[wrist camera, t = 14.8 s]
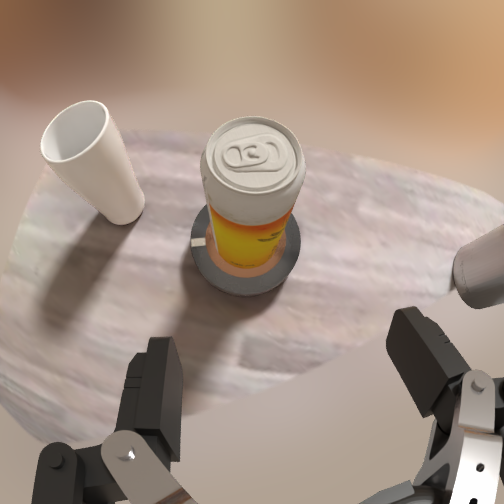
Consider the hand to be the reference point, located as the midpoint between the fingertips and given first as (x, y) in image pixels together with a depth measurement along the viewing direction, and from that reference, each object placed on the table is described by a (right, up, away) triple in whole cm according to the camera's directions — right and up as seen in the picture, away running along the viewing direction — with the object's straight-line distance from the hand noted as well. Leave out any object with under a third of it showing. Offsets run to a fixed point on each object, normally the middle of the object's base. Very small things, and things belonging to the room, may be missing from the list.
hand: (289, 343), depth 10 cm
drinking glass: (-16, +9, +24) cm, 30 cm away
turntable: (-2, +4, +23) cm, 23 cm away
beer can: (-2, +4, +20) cm, 21 cm away
